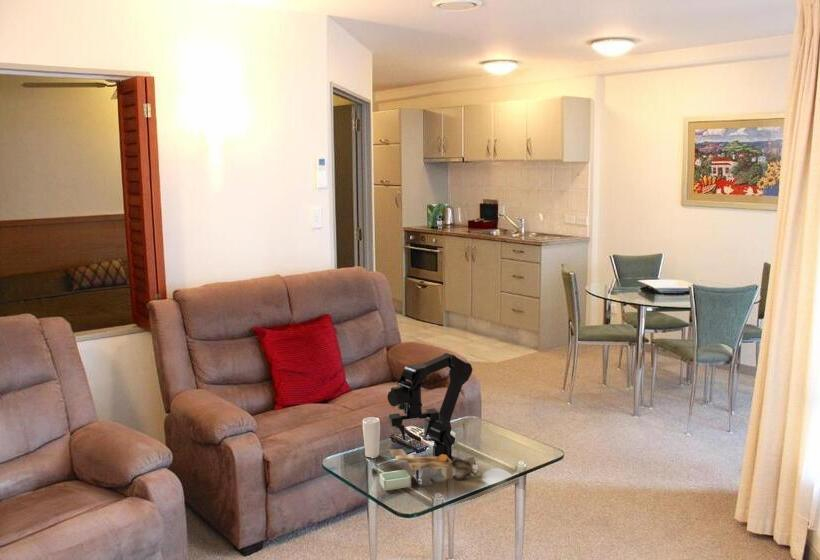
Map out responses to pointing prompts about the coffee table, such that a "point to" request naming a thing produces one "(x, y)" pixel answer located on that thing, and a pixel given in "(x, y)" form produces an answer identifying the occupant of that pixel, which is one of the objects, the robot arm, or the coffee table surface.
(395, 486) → the mint cubby shelf
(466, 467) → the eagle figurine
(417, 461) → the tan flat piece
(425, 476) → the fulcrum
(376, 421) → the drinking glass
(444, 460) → the ball
